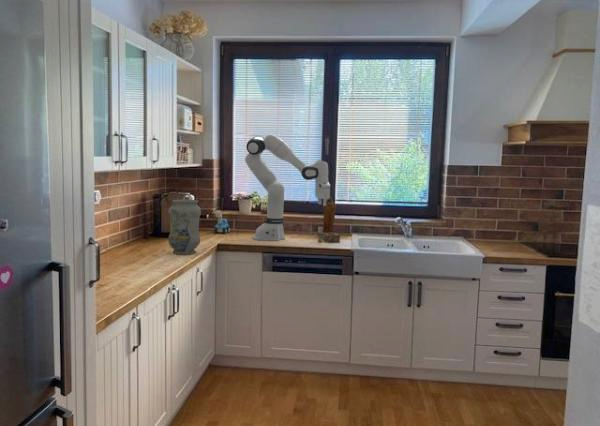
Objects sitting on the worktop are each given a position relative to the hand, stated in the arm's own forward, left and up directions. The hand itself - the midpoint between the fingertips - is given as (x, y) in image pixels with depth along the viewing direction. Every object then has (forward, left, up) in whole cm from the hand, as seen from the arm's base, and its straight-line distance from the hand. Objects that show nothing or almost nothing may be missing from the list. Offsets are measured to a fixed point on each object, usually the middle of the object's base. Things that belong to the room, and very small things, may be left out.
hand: (322, 205), depth 334 cm
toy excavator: (-63, +39, -25) cm, 78 cm away
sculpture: (+10, +18, -25) cm, 32 cm away
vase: (-92, -32, -25) cm, 100 cm away
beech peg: (-2, -3, -25) cm, 25 cm away
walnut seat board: (+7, -1, -25) cm, 25 cm away
